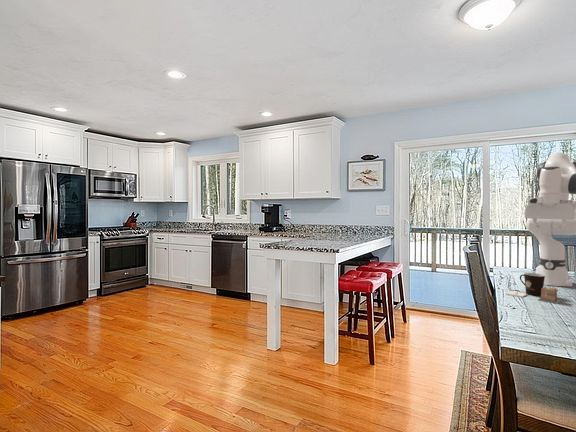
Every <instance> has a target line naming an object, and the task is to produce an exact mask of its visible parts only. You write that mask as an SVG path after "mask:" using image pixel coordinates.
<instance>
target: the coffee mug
mask: <svg viewBox="0 0 576 432" xmlns="http://www.w3.org/2000/svg"><path fill="white" fill-rule="evenodd" d="M522 277H523V278H524V280H522ZM544 279H545V275H542V274H536V272H525V273H523V274H520V275H519V280H520V283H522V284H523V285H524V288H525V294H527V295H526V296H532V297H541V288H543V287H544V285H545V284H544Z"/></svg>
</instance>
